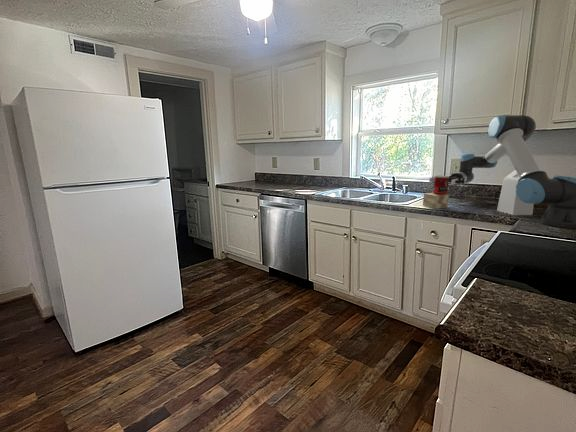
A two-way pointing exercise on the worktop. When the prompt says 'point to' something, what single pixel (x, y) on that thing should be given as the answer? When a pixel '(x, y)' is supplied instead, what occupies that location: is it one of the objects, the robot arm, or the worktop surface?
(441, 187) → the canned food
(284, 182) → the worktop surface
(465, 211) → the worktop surface
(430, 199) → the maple brick
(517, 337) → the worktop surface
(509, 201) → the milk
